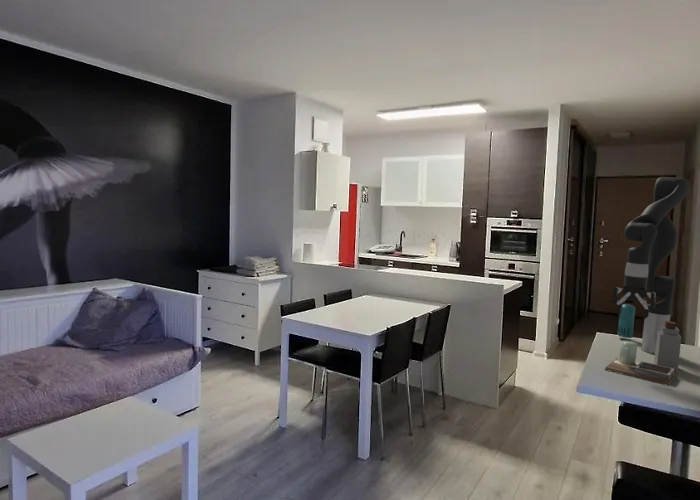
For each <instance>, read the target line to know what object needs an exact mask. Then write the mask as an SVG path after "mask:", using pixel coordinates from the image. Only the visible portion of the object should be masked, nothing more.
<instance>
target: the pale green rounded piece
mask: <svg viewBox="0 0 700 500" xmlns="http://www.w3.org/2000/svg"><path fill="white" fill-rule="evenodd" d="M619 343H620V345H619V346H620V347H619V357H618V358H619V362H620V363H623V364H627V365H635V364H636V362H637V361H636V360H637V351H638V343H637V342H635V341H630V340H620V342H619Z"/></svg>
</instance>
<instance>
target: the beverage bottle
mask: <svg viewBox="0 0 700 500" xmlns="http://www.w3.org/2000/svg"><path fill="white" fill-rule="evenodd" d="M634 302H635V301H628V300H627V299H626V300H625V301H624V302H623V303H622V312H621V315H619V314H618V316H619V317H618V327H617V336H618V337H622V338H625V339H626V338H627V339H632V338H633V335H634V327H635V325H634V322H635V317H636V316H635V314H636V306H634V305H633V304H634Z"/></svg>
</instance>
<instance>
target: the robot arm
mask: <svg viewBox="0 0 700 500" xmlns="http://www.w3.org/2000/svg"><path fill="white" fill-rule="evenodd" d="M689 185H690V184H689V181H688V179H687V178H684V177H672V176H671V177H670V176H660V177H658V178H657V179H656V181H655V184H654V186H653V187H654V189H653V203H651V204H649V205H648V206H647V207H646V208H645V209H644V210H643V212H641V214H640V215H639V216H636V218H633V220H630V222H629V223H627V225H626V226H625V227H624V231H623V232H624V236H625V238H626V239H627V240H629V241H630V242H633V241H634V242H642V244H641V245H640V246H633V247H630V248H628V251H627V258H626V261H627V262H626V265H625V268H624V281H623V288H621V287H619V286H617V287H614V288H613V292H612V293H613V294H612V296H611V297H612V299H611V302H612V303H613V304H616V313H617V315H618V316H619V315H621V312H622V305H623V304H624V303H625V302H624V301H625V300H626V299H627V300H628V301H634V302H636V303H639V302H640V304H641V305H642V306H643V308H644V309H643V314H642V320H643V321H644V322H643V329H642V337H641V338H642V339H641V350H642V351H643V352H647V353H650V354H654V355H655V350H656V341H657V332H658V330H659V331H661V326H665V321H670V322H671V313H672V302H673V296H674V291H675V284H676V281H675V278H674V277H672V276H666V275H665V276H664V275H657V274H655V273H656V271H657V270H658V267H659V266H660V265H661V264H662V262H664V260H666V259H667V257H669V255H671V253H672V252H673V251H674V249H676V243H677V235H678V231H677V228H676V226H675V224H674V222H673V220H672V219H671V218H670V216H669V212H670V211H672V210H673V209H674V208H675V207H676V206H677V205H678V204H680V203H681V202H682V201H683V200H684V199H685V198H686V197H687V195H688V192H689V190H690V189H689V187H690V186H689ZM621 292H622V295H623V296H622V297H621V298H620V299H618V298H619V297H618V296H619V294H620V293H621ZM646 296H648V298H649V299H650V301H649V302H650V303H648V302H647V300H646ZM657 298H663V299H662V300H660V301H658V302H657V301H656V299H657Z"/></svg>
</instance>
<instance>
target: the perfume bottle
mask: <svg viewBox="0 0 700 500" xmlns="http://www.w3.org/2000/svg"><path fill="white" fill-rule="evenodd" d="M681 344H682V335H680V329H679V328H678V327H677V323H676V322H675V321H671V320H670V321H665V326H661V331H659V330H658V332H657V341H656V350H655V354H654V360H653V364H656V365H660V366H665V367H669V368H674V369H675V371H677V373H678V371H679V363H680V355H681V353H680V352H681V347H682V346H681Z"/></svg>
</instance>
